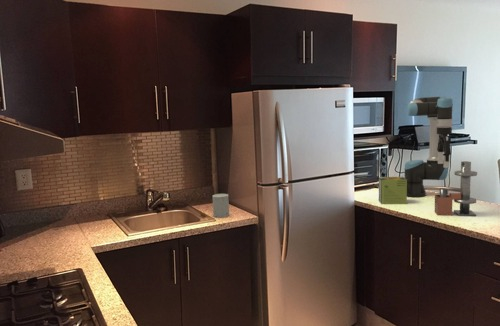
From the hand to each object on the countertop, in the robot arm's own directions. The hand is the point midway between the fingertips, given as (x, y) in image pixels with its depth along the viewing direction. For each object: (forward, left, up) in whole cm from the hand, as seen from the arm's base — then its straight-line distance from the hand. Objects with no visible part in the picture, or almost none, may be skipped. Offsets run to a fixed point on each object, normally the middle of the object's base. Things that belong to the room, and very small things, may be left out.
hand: (443, 165), depth 234 cm
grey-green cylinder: (+13, -125, -27) cm, 128 cm away
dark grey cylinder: (+1, 0, -27) cm, 27 cm away
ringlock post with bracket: (+1, +7, -27) cm, 28 cm away
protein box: (-26, -24, -27) cm, 45 cm away
